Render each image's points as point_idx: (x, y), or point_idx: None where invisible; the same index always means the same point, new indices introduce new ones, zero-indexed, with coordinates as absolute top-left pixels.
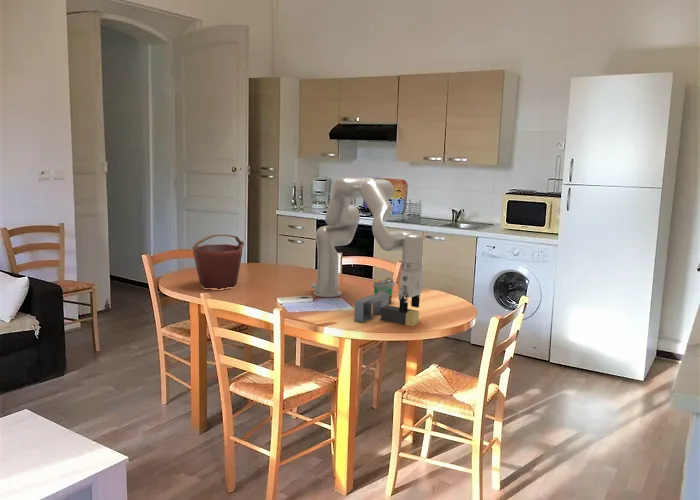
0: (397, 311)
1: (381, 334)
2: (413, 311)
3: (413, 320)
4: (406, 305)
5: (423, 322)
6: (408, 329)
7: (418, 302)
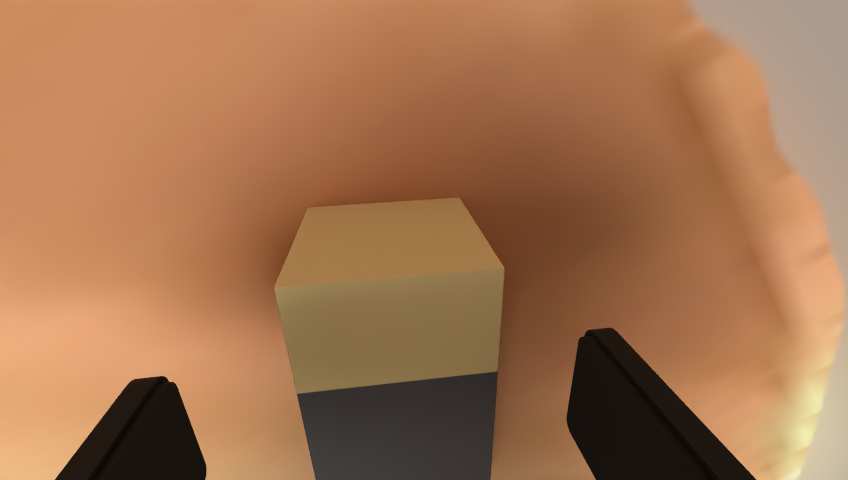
0: (489, 458)
1: (832, 269)
2: (378, 326)
3: (450, 223)
4: (703, 439)
5: (226, 179)
6: (592, 168)
7: (102, 465)
